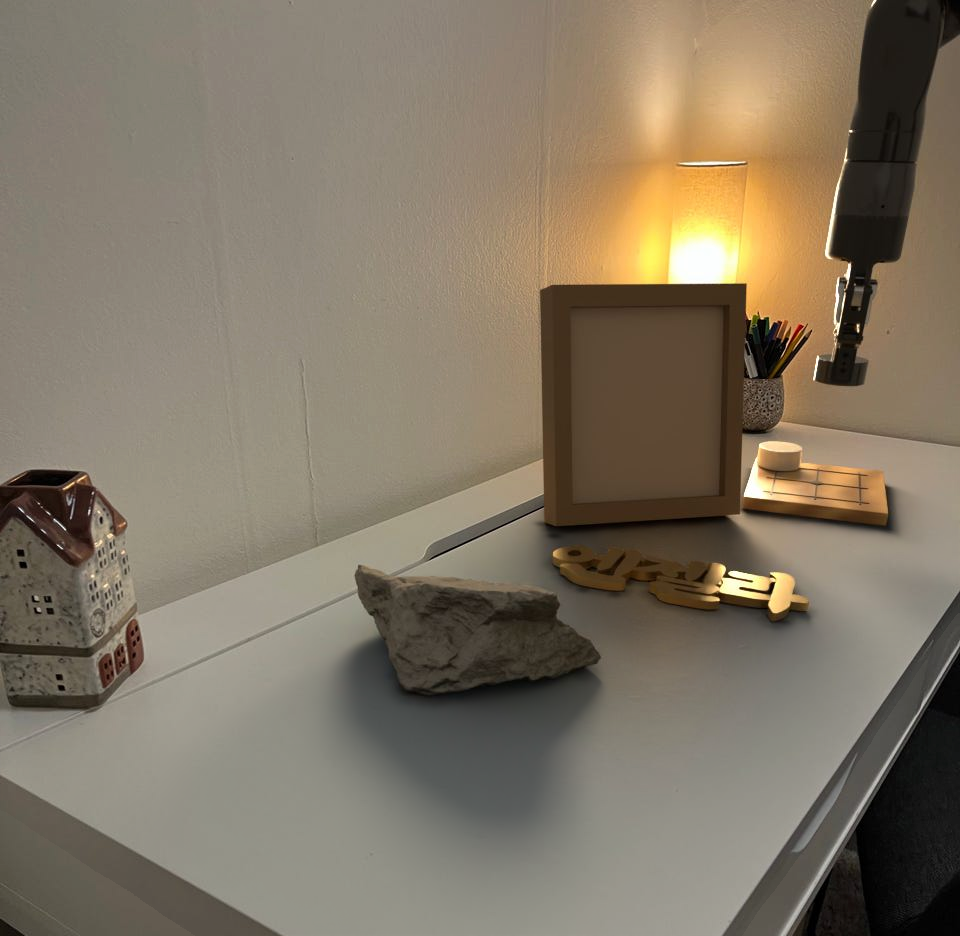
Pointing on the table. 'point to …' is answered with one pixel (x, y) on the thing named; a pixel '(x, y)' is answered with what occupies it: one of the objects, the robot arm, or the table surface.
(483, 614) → the fossil stone
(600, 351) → the photo frame
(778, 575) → the lettering
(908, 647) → the table surface
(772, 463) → the white stone
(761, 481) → the game board
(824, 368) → the black stone
